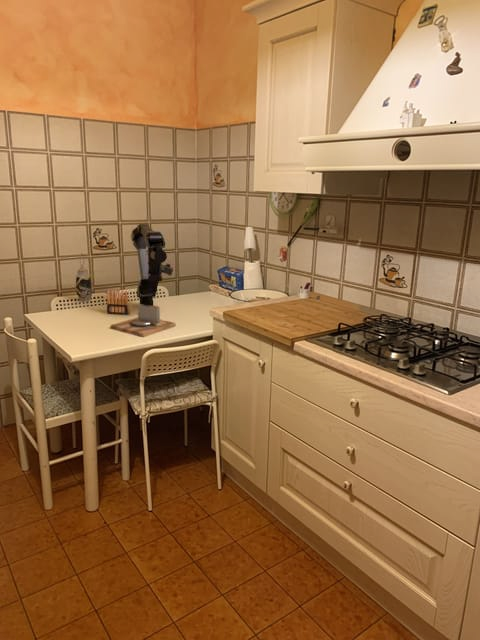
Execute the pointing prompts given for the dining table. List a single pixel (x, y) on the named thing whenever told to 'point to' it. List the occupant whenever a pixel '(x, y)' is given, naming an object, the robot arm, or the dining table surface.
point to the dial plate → (142, 327)
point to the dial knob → (147, 315)
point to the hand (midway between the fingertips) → (155, 292)
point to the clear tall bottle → (83, 284)
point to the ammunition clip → (117, 303)
